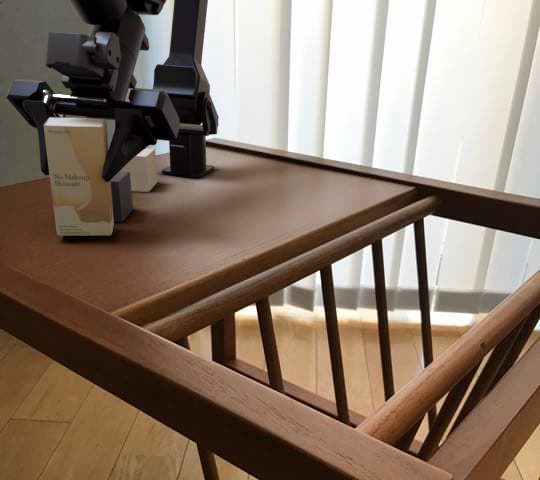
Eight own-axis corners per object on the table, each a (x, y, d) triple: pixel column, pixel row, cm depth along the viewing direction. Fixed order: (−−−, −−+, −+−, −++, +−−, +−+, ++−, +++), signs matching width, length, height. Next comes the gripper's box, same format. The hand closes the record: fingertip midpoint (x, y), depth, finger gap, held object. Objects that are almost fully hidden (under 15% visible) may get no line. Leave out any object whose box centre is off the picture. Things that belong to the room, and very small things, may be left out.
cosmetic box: (56, 237, 71) (39, 124, 65) (61, 224, 75) (45, 116, 68) (114, 236, 72) (103, 124, 66) (116, 223, 76) (106, 116, 69)
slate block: (95, 207, 83) (91, 169, 80) (133, 209, 82) (129, 171, 80) (82, 219, 78) (78, 179, 76) (122, 222, 78) (118, 181, 76)
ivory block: (124, 181, 94) (121, 146, 92) (157, 182, 94) (155, 148, 91) (114, 190, 90) (111, 154, 87) (148, 192, 90) (146, 156, 87)
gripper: (-1, -4, 66) (-47, 125, 63) (163, 3, 62) (124, 141, 59) (51, 69, 77) (14, 182, 74) (194, 79, 73) (162, 199, 70)
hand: (74, 176), depth 69 cm, fingers closed on cosmetic box, 7 cm apart
